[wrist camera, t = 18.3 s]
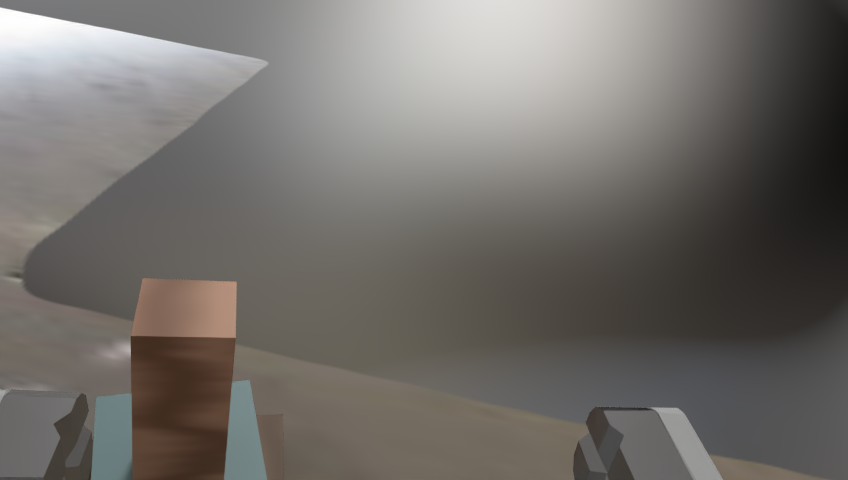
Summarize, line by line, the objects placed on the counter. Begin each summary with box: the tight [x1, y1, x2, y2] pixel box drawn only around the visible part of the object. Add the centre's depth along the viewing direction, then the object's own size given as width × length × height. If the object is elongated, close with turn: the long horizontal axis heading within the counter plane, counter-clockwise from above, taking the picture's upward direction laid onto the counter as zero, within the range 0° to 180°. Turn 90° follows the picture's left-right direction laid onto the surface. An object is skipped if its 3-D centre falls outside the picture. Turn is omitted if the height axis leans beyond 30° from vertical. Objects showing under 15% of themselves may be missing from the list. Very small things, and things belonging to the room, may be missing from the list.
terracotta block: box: [131, 278, 237, 480], centre depth 40 cm, size 5×5×12 cm
